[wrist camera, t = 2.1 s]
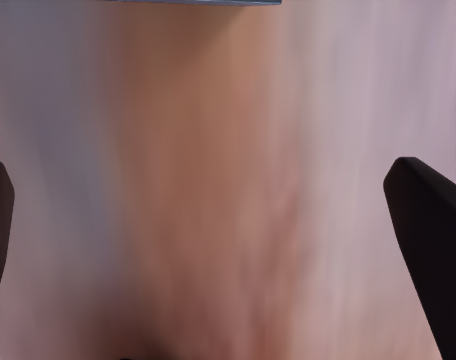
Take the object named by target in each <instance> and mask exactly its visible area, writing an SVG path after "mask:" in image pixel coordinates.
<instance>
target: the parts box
mask: <svg viewBox="0 0 456 360" xmlns="http://www.w3.org/2000/svg"><path fill="white" fill-rule="evenodd" d="M109 1H133V2H157V3H181V4H205V5H229V6H263V5H280V4H281V3H282V0H109Z"/></svg>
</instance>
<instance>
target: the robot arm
mask: <svg viewBox="0 0 456 360" xmlns="http://www.w3.org/2000/svg"><path fill="white" fill-rule="evenodd" d="M383 188H384V193H385V197H386V200H387V204H388V208H389V212H390V216H391V219H392V223H393V227H394V231H395V234H396V238H397V241H398V244H399V247H400V250H401V252H402V255H403V258H404V260H405V263H406V265H407V268H408V271H409V273H410V276H411V278H412V281H413V284H414V286H415V289H416V291H417V294H418V297H419V299H420V302H421V304H422V307H423V310H424V312H425V315H426V317H427V320H428V323H429V325H430V328H431V331H432V333H433V336H434V338H435V341H436V344H437V346H438V349H439V351H440V354H441V357H442V359H443V360H456V184H455V183H453V182H452V181H450V180H449V179H447V178H446V177H444V176H443V175H441V174H440V173H438V172H437V171H435V170H434V169H432V168H431V167H430V166H428V165H427V164H425V163H424V162H422V161H421V160H419V159H418V158H416V157H399V158H398V159H396V160H395V162H394V164H393V165H392V167H391V169H390V170H389V172H388V174H387V175H386V177H385V179H384V182H383ZM14 197H15V194H14V188H13V185H12V183H11V180H10V178H9V176H8V173H7V171H6V168H5V166H4V165H3V163H2V162H0V282H1V279H2V275H3V271H4V267H5V263H6V257H7V250H8V243H9V235H10V228H11V221H12V213H13V206H14ZM121 360H130V359H121Z"/></svg>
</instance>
